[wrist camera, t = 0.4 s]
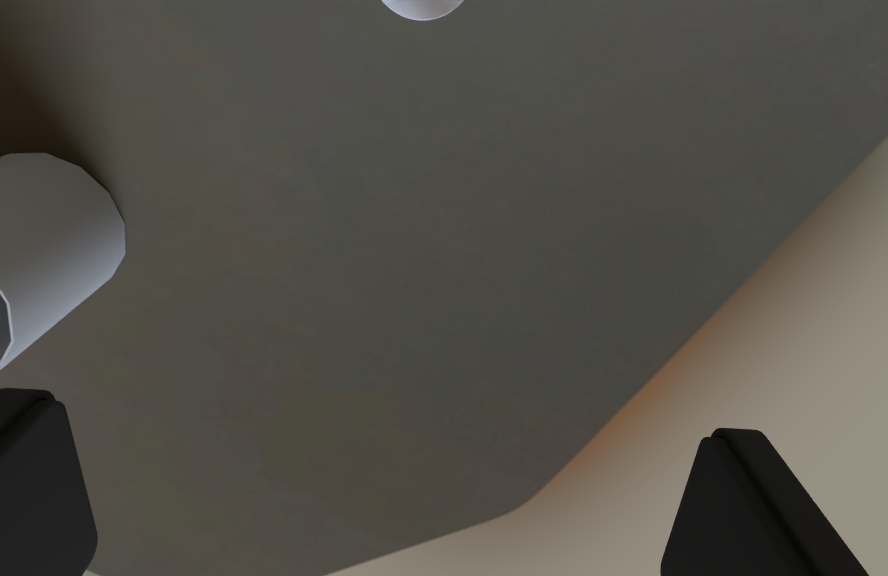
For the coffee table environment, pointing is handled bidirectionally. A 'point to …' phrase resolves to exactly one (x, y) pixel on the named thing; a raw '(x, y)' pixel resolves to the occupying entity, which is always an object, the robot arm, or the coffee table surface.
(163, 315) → the coffee table surface
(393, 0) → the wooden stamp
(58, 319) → the cup
